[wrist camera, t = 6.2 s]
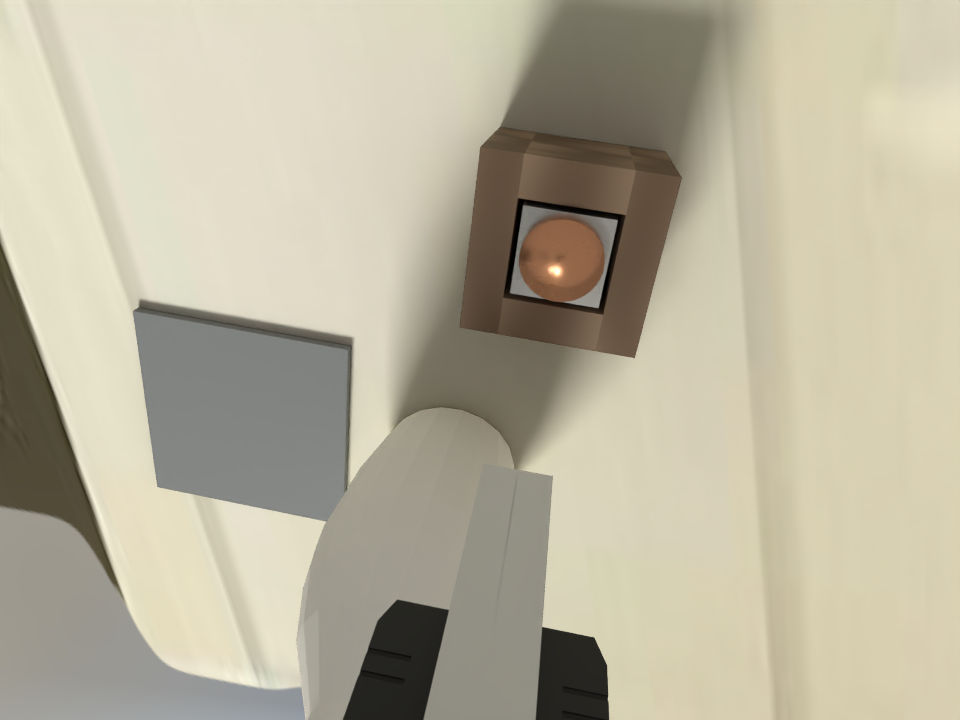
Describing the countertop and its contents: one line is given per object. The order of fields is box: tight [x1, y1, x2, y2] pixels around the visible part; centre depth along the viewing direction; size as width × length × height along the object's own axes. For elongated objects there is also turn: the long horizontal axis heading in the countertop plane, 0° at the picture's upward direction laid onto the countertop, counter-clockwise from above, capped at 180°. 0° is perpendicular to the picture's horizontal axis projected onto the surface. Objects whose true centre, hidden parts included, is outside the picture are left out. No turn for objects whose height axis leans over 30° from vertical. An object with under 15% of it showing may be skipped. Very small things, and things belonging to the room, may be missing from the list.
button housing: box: [460, 127, 682, 358], centre depth 34 cm, size 9×9×7 cm
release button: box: [510, 199, 618, 308], centre depth 33 cm, size 4×4×6 cm
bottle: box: [297, 407, 514, 720], centre depth 35 cm, size 11×11×25 cm
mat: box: [133, 308, 351, 521], centre depth 47 cm, size 15×15×1 cm
